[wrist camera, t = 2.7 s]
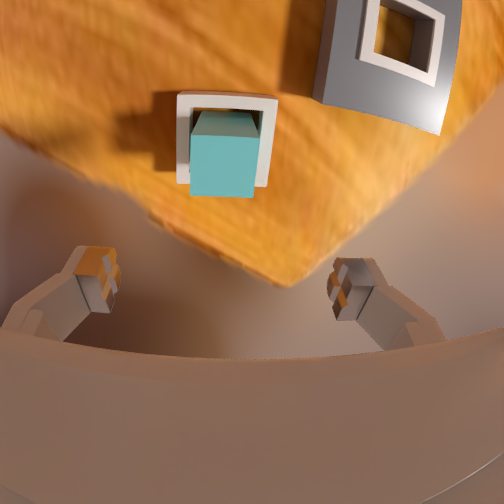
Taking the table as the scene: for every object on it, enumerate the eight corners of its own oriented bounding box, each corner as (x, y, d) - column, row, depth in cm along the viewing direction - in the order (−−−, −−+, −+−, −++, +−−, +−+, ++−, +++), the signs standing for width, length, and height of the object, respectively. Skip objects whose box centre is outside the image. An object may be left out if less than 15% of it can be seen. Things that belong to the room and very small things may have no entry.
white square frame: (181, 171, 25) (176, 183, 23) (182, 91, 20) (177, 94, 18) (263, 175, 26) (266, 187, 24) (273, 95, 21) (278, 99, 19)
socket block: (311, 98, 21) (323, 104, 19) (332, -56, 11) (345, -67, 9) (421, 126, 23) (440, 136, 20) (443, -7, 13) (464, -9, 10)
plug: (200, 154, 24) (190, 195, 18) (202, 110, 22) (190, 135, 15) (245, 156, 24) (252, 197, 18) (250, 113, 22) (259, 138, 16)
